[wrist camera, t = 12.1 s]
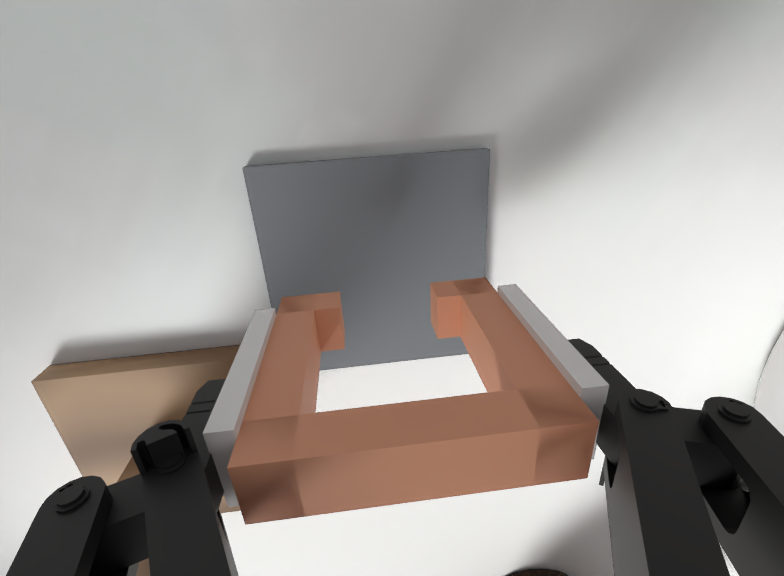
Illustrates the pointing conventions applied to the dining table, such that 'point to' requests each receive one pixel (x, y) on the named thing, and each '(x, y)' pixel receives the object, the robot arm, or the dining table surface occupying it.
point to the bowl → (772, 387)
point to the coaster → (374, 243)
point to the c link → (405, 418)
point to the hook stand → (125, 405)
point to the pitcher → (539, 573)
